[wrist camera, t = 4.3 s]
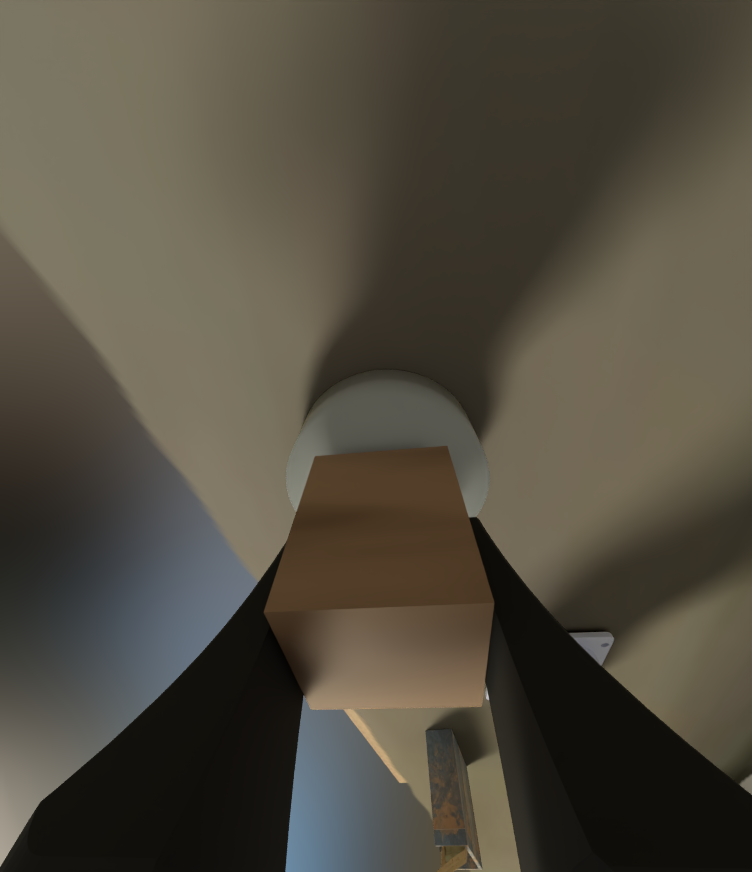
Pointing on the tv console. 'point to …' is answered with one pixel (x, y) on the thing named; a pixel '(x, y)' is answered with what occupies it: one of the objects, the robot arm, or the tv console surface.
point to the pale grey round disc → (390, 428)
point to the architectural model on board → (443, 797)
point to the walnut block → (383, 585)
